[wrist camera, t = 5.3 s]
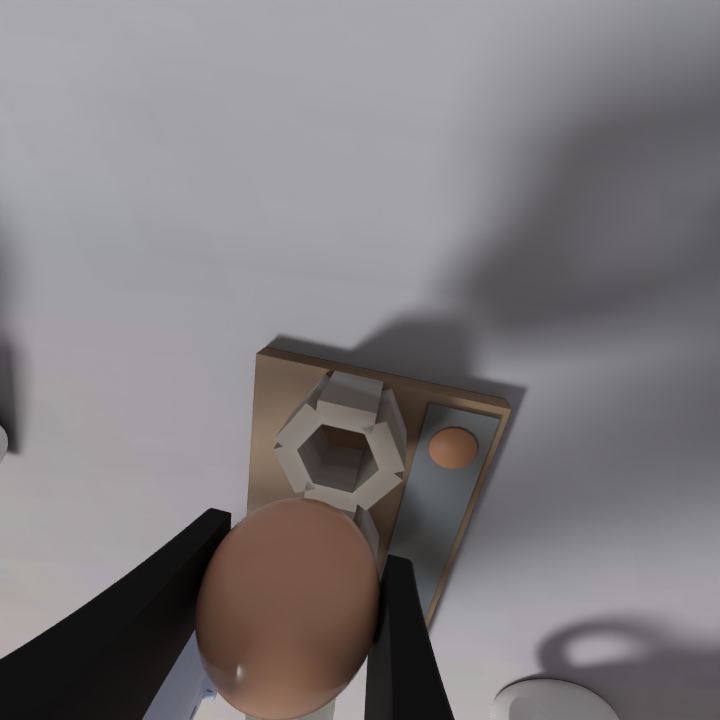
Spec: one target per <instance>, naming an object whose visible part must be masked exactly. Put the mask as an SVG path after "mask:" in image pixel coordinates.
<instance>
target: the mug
mask: <svg viewBox="0 0 720 720" xmlns="http://www.w3.org/2000/svg"><path fill="white" fill-rule="evenodd" d="M490 720H619V719H618V717H617V715H616V713H615V712H614V711H613V709H612V708H611V707H610V706H609V705H608V704H607V703H606V702H605V701H604V700H603V699H602V698H600V697H599V696H598V695H596V694H595V693H593V692H592V691H590V690H588V689H586V688H584V687H582V686H579V685H577V684H574V683H570V682H566V681H561V680H553V679H533V680H526V681H522V682H518V683H515V684H513V685H511V686H508V687H507V688H505V689H504V690H503V691H501V692H500V693H499V694H498V696H497V697H496V699H495V700H494V702H493V704H492V707H491V712H490Z"/></svg>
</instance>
